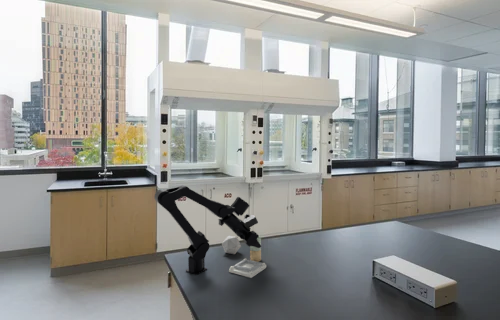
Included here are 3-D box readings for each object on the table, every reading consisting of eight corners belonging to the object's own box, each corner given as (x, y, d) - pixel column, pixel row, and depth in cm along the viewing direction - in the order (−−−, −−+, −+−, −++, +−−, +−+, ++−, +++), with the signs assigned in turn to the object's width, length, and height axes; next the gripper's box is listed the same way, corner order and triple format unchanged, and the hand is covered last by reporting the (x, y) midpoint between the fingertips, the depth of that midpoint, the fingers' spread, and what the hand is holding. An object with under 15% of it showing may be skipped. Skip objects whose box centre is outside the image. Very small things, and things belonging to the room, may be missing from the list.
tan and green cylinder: (257, 262, 142) (257, 239, 141) (247, 260, 145) (247, 237, 144) (263, 259, 146) (262, 236, 146) (253, 257, 149) (253, 234, 148)
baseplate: (251, 277, 127) (251, 272, 127) (228, 271, 133) (228, 266, 133) (266, 267, 137) (266, 262, 137) (244, 262, 143) (244, 257, 143)
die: (243, 252, 157) (236, 234, 161) (241, 249, 150) (234, 230, 154) (228, 259, 157) (221, 240, 161) (225, 256, 149) (218, 237, 153)
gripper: (253, 214, 134) (278, 237, 138) (240, 205, 152) (262, 226, 156) (236, 235, 132) (261, 257, 136) (224, 223, 150) (247, 244, 154)
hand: (258, 245), depth 146 cm, fingers open, 5 cm apart
